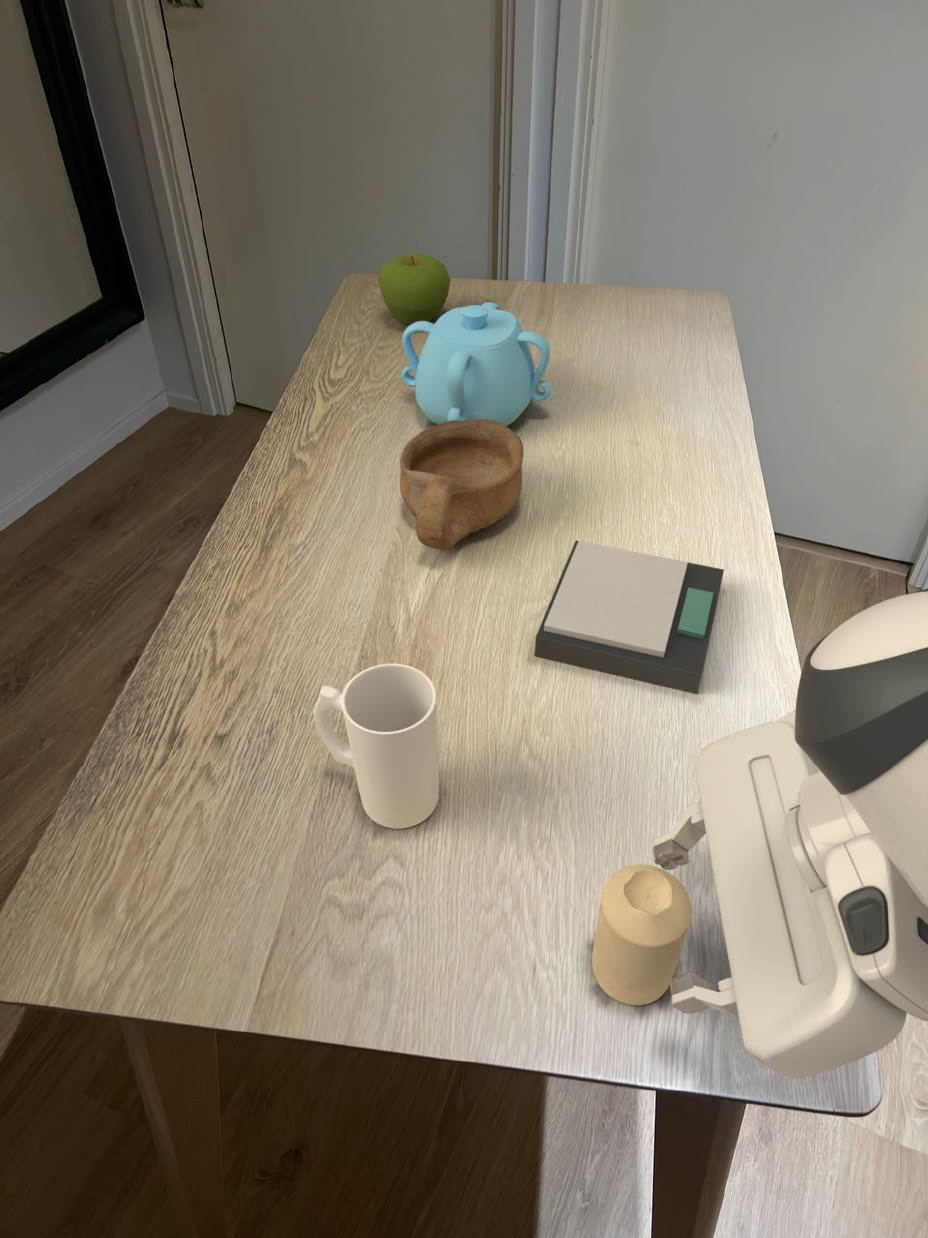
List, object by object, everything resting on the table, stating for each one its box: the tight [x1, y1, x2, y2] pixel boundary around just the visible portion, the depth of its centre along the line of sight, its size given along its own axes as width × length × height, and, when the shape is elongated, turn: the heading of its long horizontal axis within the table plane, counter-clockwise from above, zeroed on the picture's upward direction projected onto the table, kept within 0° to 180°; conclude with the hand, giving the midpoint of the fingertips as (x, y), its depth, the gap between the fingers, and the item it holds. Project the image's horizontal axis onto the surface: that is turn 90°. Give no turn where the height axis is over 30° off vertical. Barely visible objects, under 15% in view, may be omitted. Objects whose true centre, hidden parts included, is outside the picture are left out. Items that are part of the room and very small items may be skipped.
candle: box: [591, 863, 693, 1006], centre depth 57 cm, size 6×6×10 cm
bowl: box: [399, 419, 525, 550], centre depth 95 cm, size 18×14×10 cm
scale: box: [534, 540, 725, 695], centre depth 85 cm, size 15×15×3 cm
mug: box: [313, 663, 440, 830], centre depth 68 cm, size 10×7×12 cm, turn 69°
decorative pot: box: [401, 301, 553, 427], centre depth 110 cm, size 16×16×14 cm
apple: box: [377, 253, 451, 327], centre depth 131 cm, size 11×10×10 cm
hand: (666, 923), depth 56 cm, fingers open, 8 cm apart
